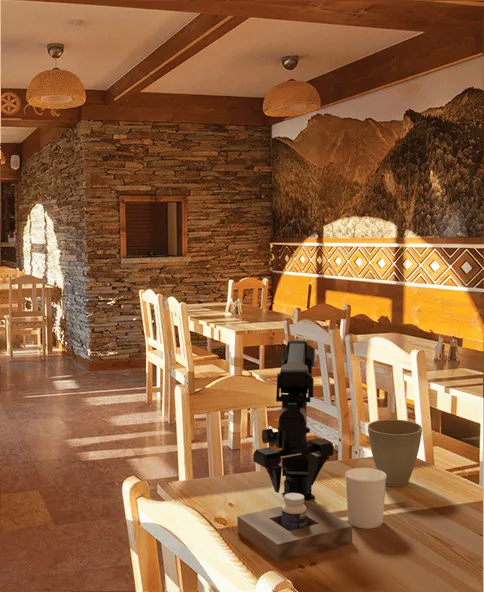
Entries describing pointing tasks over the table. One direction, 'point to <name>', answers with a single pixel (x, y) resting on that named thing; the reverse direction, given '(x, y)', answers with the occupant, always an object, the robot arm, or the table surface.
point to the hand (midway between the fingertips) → (293, 488)
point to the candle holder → (365, 497)
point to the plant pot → (395, 448)
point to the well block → (294, 532)
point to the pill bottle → (293, 512)
